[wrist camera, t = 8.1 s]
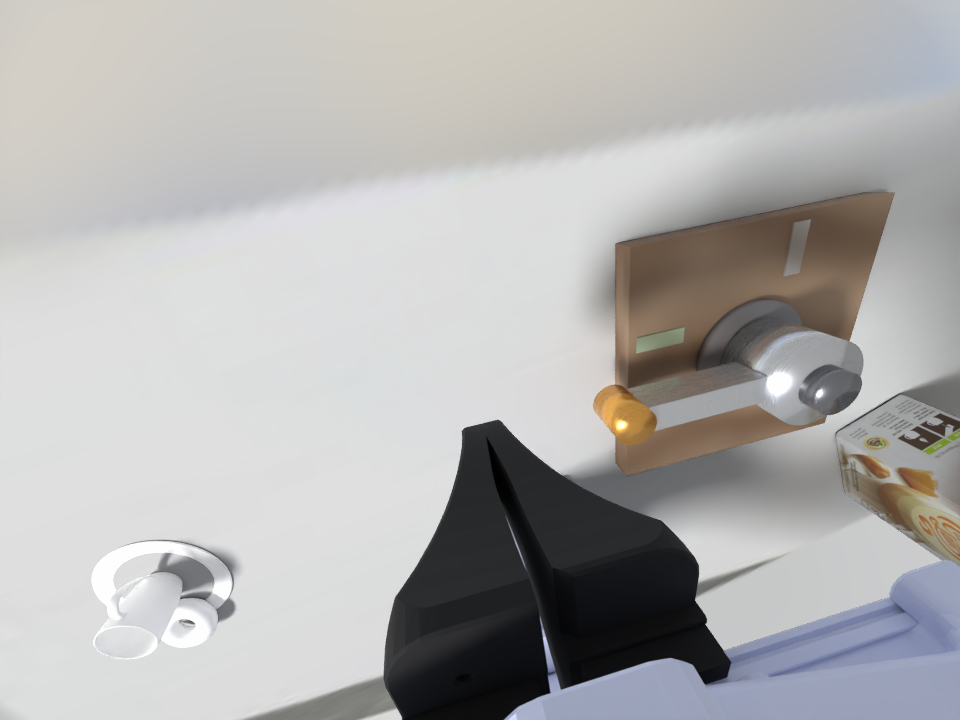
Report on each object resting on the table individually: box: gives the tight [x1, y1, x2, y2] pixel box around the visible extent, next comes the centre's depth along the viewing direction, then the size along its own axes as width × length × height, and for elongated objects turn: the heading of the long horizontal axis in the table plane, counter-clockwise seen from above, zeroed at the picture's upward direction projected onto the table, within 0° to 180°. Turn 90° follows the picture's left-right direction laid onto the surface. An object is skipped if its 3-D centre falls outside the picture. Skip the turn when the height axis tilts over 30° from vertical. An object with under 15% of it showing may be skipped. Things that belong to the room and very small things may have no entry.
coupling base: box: [616, 192, 895, 476], centre depth 24 cm, size 16×16×2 cm
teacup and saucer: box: [92, 541, 232, 659], centre depth 23 cm, size 9×8×4 cm
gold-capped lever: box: [593, 317, 863, 445], centre depth 20 cm, size 14×5×5 cm, turn 100°
